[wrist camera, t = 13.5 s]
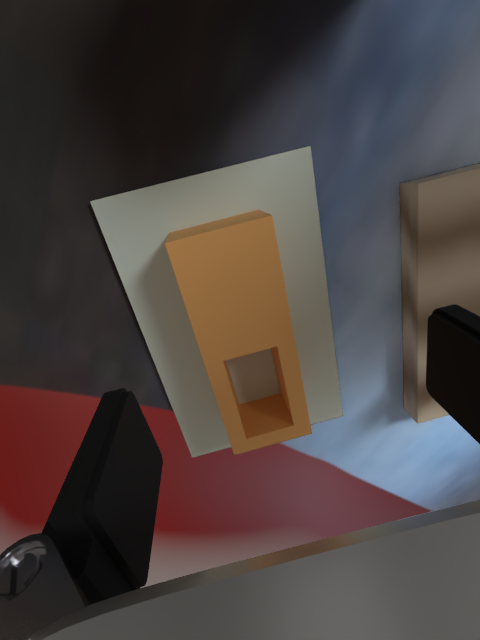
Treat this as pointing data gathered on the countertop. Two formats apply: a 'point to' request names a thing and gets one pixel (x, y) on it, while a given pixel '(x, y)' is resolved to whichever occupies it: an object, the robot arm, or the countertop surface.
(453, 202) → the peg base
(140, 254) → the mat
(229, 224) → the link
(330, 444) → the countertop surface
